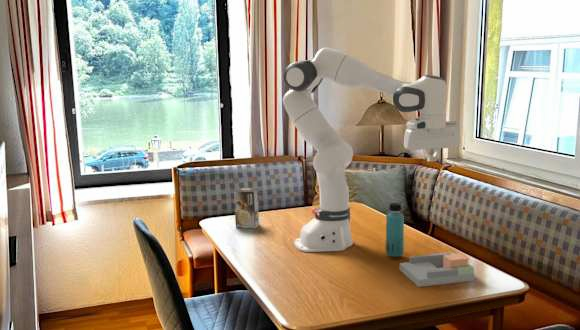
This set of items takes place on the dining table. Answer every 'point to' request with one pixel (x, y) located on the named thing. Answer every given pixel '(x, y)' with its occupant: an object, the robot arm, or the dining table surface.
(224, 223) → the dining table surface
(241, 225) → the coffee box
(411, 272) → the tray
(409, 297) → the dining table surface
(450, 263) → the block
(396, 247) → the beverage bottle
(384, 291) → the dining table surface
